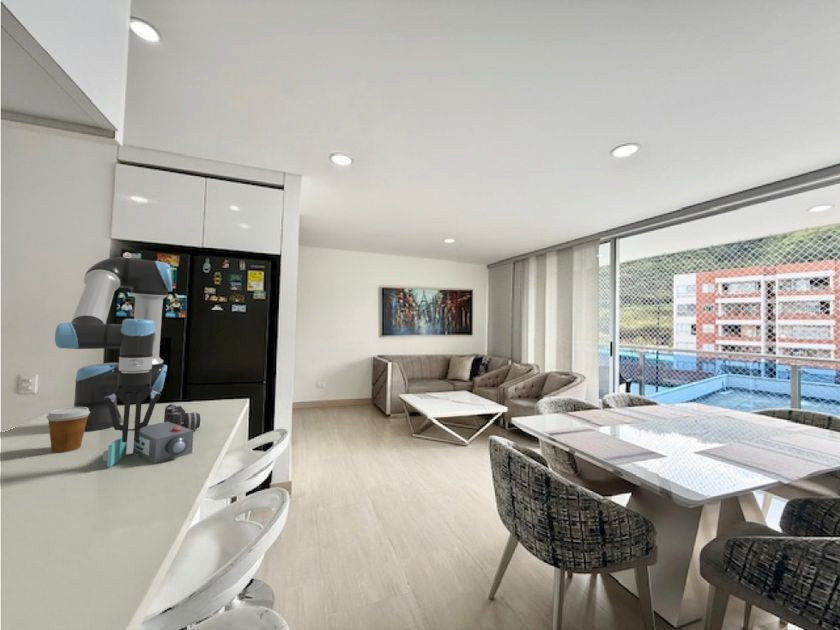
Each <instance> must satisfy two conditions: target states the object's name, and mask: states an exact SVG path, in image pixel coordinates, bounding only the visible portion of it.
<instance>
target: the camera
mask: <svg viewBox="0 0 840 630" xmlns="http://www.w3.org/2000/svg"><path fill="white" fill-rule="evenodd" d="M163 422H171V423H174V424H177V425H180V426H182V427H185V428H188V429H191V430H193V431H195V430H197V429H199V428H200V427H201V426H200V425H201V414H200V413H198V412H194V411H193V412H190V411H188V412H186V410H185V409H184V407H183V406H181V405H178V406H176V405H174V404H172V403H170V404H168V405H166V406H165V408H164V417H163Z"/></svg>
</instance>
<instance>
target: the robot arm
mask: <svg viewBox="0 0 840 630" xmlns="http://www.w3.org/2000/svg"><path fill="white" fill-rule="evenodd" d="M171 271H172V270H171V265H170V264H169V263H167V262H164V261H157V260H149V259H140V258H131V257H125V256H123V257H122V256H117V257H109V258H107V259H103V260H100V261H98V262H97V263H95V264H93V265H92V266H91V267H90V268H88V269H87V271H86V273H85V274H84V278H83V281H84V285H85V286H84V288H83V291H82V293H81V296H80V298H79V301H78V303H77V306H76V308H75V311H74V314H73V316H72V319H71V321H69V322H62V323H59V324H58V325H57V326H56V328H55V333H54V344H55V346H56V347H57V348H59V349H67V350H68V349H70V350H86V349H87V350H92V349H93V350H97V349H99V350H100V349H103V350H104V349H106V350H107V349H109V350H110V349H111V350H112V349H113V350H117V349H119V357H118V362H105V363H104V362H103V363H97V364H90V365H86V366H82V367H80V368H78V370H77V371H76V375H75V376H76V377H75V379H74V381H75V388H74V389H75V390H74V401H73V402H74V403H73V407H87V408H88V409H89V411H90V414H89V415H88V418H87V422H86V426H85V430H84V432H92V431H99V430H105V429H108V428H109V429H110V428H114V429H113V430H115V431H121V432H122V433H121V434H122V435H121V436H122V442H127V450H126V455H130V454H134V453H133V447H134V441H136V440H139V433H140V429H141V428H142V427H146V426H148V425H149V422H150V420H151V418H152V415H153V412H154V409H155V406H156V403H157V401H158V400H159V399H160V398H161V396H162V395H161V394H162V393H161V392H162V390H163V388H164V383H165V380H166V377H167V371H168V365H167V364H164V359H162V358H161V357H160V349H161V348H160V346H161V332H162V331H161V329H162V317H163V306H164V305H163V303H164V299H165V298H167V297H168V295H169V292H173V282H172V272H171ZM119 288H121V289H122V288H123V289H130V294H131V295H132V296H133V297H134V298H135V299H134V313H133V314H134V315H133V316H134V317H133V318H125V319H123V320H122V323H120V324H118V323H117V324H115V323H111V324H109V323H107V320H108V317H109V313H110V310H111V307H112V301H113V299H114V296H115V291H117V290H118V289H119ZM149 395H150V402H149V403H148V406H147V410H146V413H145V415H144V418H143V421H141V417H142V415H141V414H142V406H143V405H142V403H143V402H144V401H145V400H146V399H147V398H148V397H149ZM117 399H118V400H119V401H120V402H122V404H124V407H123V419H122V415H121V412H120V409H119V406H118V404H117ZM131 404H135V411H134V412H135V413H134V414H135V415H134V428H133V427H132V428H129V425H130V424H129V423H130V411H131V410H130V409H131ZM122 420H123V421H122ZM122 422H123V423H122ZM121 423H122V424H121Z"/></svg>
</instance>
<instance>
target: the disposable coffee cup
mask: <svg viewBox="0 0 840 630" xmlns="http://www.w3.org/2000/svg"><path fill="white" fill-rule="evenodd" d="M89 414H90V411H89V409H88V408H87V407H74V406H71V407H65V408H63V407H62V408H58V409H53V410H50V411H49V412H48V415H47V416H46V419H47V421H48V430H49V437H50V438H49V439H50V446H51V448H50V449H51V452H52V453H65V452H66V453H67V452H72V451H75V450H78V449H80V448H81V446H82V442H83V438H84V433H85V431H84V430H85V426H86V422H87V418H88V415H89Z"/></svg>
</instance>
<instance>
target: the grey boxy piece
mask: <svg viewBox="0 0 840 630" xmlns="http://www.w3.org/2000/svg"><path fill="white" fill-rule="evenodd" d="M193 443H194V430H191V429H188V428H185V427H182V426H180V425H177V424H174V423H171V422H164V421H163V422H159V423H153V424H148V425H147V426H146V427H142V428H141V429H140V433H139V440H136V441H134V447H133V453H132V454H134V455H138V456H139V457H142V458H143V459H145V460H147V461H149V462H151V463H153V464H158V463H161V462H165V461H168V460H171V459H176V458H178V457H182V456H185V455H190V454H193V446H194V445H193Z"/></svg>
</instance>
